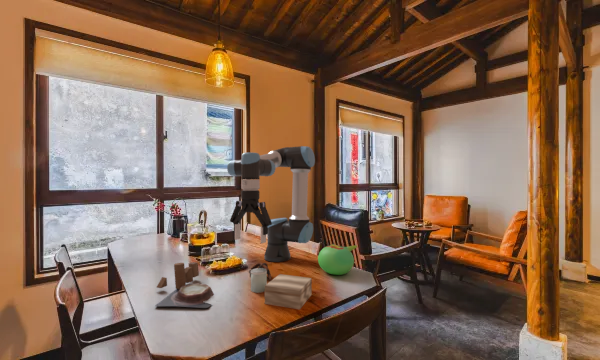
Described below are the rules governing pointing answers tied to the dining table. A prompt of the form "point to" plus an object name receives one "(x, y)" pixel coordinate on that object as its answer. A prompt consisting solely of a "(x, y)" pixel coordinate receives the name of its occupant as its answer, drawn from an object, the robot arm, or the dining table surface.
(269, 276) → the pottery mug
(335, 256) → the round green toy
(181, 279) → the wooden block set
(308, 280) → the beech tea box
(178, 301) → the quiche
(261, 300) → the dining table surface
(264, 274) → the celadon tea cup
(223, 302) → the dining table surface
